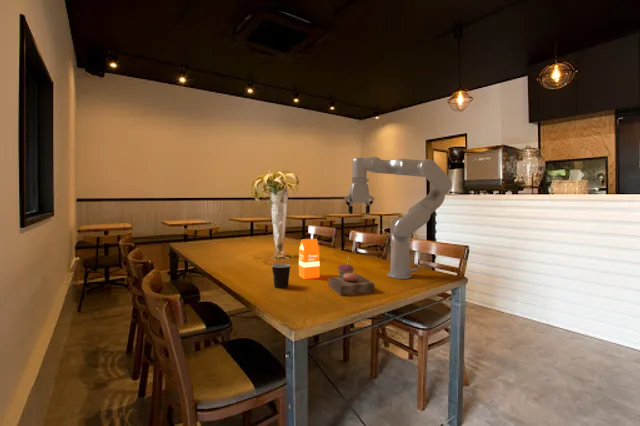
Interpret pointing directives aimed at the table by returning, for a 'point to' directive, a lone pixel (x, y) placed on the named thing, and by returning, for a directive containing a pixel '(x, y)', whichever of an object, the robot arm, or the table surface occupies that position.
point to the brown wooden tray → (351, 286)
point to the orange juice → (309, 259)
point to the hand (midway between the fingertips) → (359, 213)
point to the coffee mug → (281, 275)
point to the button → (350, 276)
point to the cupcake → (345, 268)
